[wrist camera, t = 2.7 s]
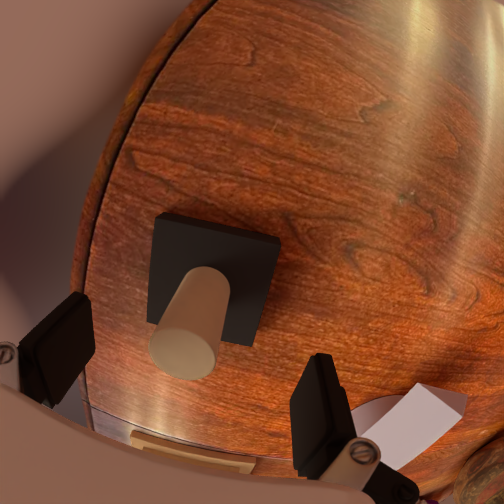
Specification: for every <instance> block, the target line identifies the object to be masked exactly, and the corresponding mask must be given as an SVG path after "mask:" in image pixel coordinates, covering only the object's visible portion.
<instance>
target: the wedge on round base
mask: <svg viewBox="0 0 504 504" xmlns="http://www.w3.org/2000/svg"><path fill="white" fill-rule="evenodd" d="M467 398H468V395H466V394H462V393H457V392H453V391H449V390H445V389H441V388H437V387H433V386H429V385H425V384H421V383H417V384H416V385H415V386H414V387H413V388H412V389H411V390H410V391H409V392H408V393H407V394H406V395H405V396H402V395H392V396H386V397H381V398H378V399H375V400H372V401H370V402H367V403H365V404H363V405H361V406H359V407H357V408H355V409H354V410H352V411H351V414H352V418H353V421H354V425H355V429H356V433H357V437H363V438H368V439H370V440H372V441H373V442H375V443H376V444H377V445H378V447H379V448H380V451H381V459H380V461H381V462H383V463H384V464H386V465H388V466H389V467H391V468H392V469H394V470H395V471H397V470H398V469H400V468H401V467H403V466H404V465H405V464H407V463H408V462H410V461H411V460H412V459H414V458H415V457H416V456H418V455H419V454H420V453H422V452H423V451H424V450H426V449H427V448H428V447H429V446H431V445H432V444H433V443H434V442H435V441H437V440H438V439H439V438H440V437H441V436H442V435H444V434H445V433H446V432H447V431H448V430H449V429H450V428H451V427H453V426H454V425H455V424H456V423H457V422H458V421H459V420H460V419H461V418H462V417H463V414H464V410H465V406H466V402H467Z"/></svg>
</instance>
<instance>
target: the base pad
mask: <svg viewBox="0 0 504 504" xmlns="http://www.w3.org/2000/svg"><path fill="white" fill-rule="evenodd" d="M130 439H131V444H132V447H134V448H137V449H140V450H143V451H146V452H149V453H152V454H156V455H159V456H162V457H166V458H170V459H173V460H177V461H181V462H185V463H189V464H193V465H198V466H202V467H207V468H212V469H218V470H223V471H229V472H236V473H243V474H250V472H251V471H252V469H253V468H254V466H255V464H256V457H250V456H242V455H235V454H228V453H222V452H216V451H211V450H205V449H200V448H196V447H191V446H187V445H183V444H178V443H174V442H171V441H167V440H163V439H160V438H156V437H153V436H149V435H146V434H143V433H140V432H137V431H134V430H132V432H131V434H130Z"/></svg>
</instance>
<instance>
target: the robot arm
mask: <svg viewBox="0 0 504 504" xmlns="http://www.w3.org/2000/svg"><path fill="white" fill-rule="evenodd" d="M19 344H20V345H19V346H18V347H16V346H15V345H14V344H13V343H10V342H0V504H428V503H427V502H426V501H425V500H422V501H421V500H420V499H419V488H418V486H417V485H416V483H414V482H413V481H412V480H410V479H409V478H407V477H405V476H404V475H402V474H400V473H399V472H397V471H395V470H394V469H392V468H391V467H389V466H388V465H386V464H384V463H383V462H381V461H380V459H381V451H380V448H379V447H378V445H377V444H376V443H375V442H373V441H372V440H370V439H368V438H363V437H357V433H356V429H355V425H354V421H353V418H352V414H351V410H350V407H349V403H348V399H347V396H346V392H345V389H344V388H343V387H342V386H340V384H339V380H338V376H337V373H336V369H335V366H334V362H333V359H332V356H331V355H330V354H324V353H316V355H315V356H313V355H312V356H311V357H310V359H309V361H308V363H307V366H306V368H305V370H304V372H303V374H302V376H301V378H300V380H299V382H298V384H297V386H296V388H295V390H294V392H293V394H292V396H291V399H290V418H291V433H292V449H293V466H294V469H295V470H298V476H302V477H307V479H294V478H280V477H268V476H259V475H251V474H243V473H236V472H229V471H223V470H218V469H212V468H207V467H202V466H198V465H193V464H189V463H185V462H181V461H177V460H173V459H170V458H166V457H162V456H159V455H156V454H152V453H149V452H146V451H143V450H140V449H137V448H134V447H132V446H129V445H126V444H123V443H121V442H118V441H116V440H113V439H110V438H108V437H106V436H103V435H101V434H99V433H96V432H94V431H92V430H89V429H87V428H85V427H83V426H81V425H79V424H77V423H75V422H73V421H71V420H69V419H67V418H65V417H63V416H61V415H59V414H57V413H55V412H54V411H52V410H50V409H48V408H46V407H44V406H43V405H41V404H42V403H43V404H44V405H46V406H47V407H49V408H51V409H53V407H54V406H55V404H59V403H60V402H61V400H62V399H63V397H64V396H65V394H66V393H67V391H68V390H69V388H70V387H71V386H72V384H73V383H74V381H75V380H76V378H77V377H78V376H79V374H80V373H81V371H82V370H83V369H84V367H85V366H86V364H87V363H88V362H89V360H90V359H91V357H92V356H93V355H94V353H95V339H94V330H93V321H92V309H91V301H90V300H89V299H88V296H87V295H85V294H82V293H80V292H77V291H75V292H73V293H72V294H71V295H70V296H69V297H68V298H67V299H65V300H64V301H63V302H62V303H61V304H60V305H58V306H57V307H56V308H55V309H54V310H53V311H52V312H51V313H50V314H48V315H47V316H46V317H45V318H44V319H43V320H42V321H41V322H40V323H39V324H38V325H37V326H36V327H34V328H33V329H32V330H31V331H30V332H29V333H28V334H27V335H26V336H25V337H24V338H23V339H22V340H21V341H20V342H19Z"/></svg>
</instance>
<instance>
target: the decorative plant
mask: <svg viewBox="0 0 504 504" xmlns="http://www.w3.org/2000/svg"><path fill="white" fill-rule="evenodd" d="M425 501H426V502H427V503H428V504H438V501H435V500H425Z"/></svg>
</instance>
